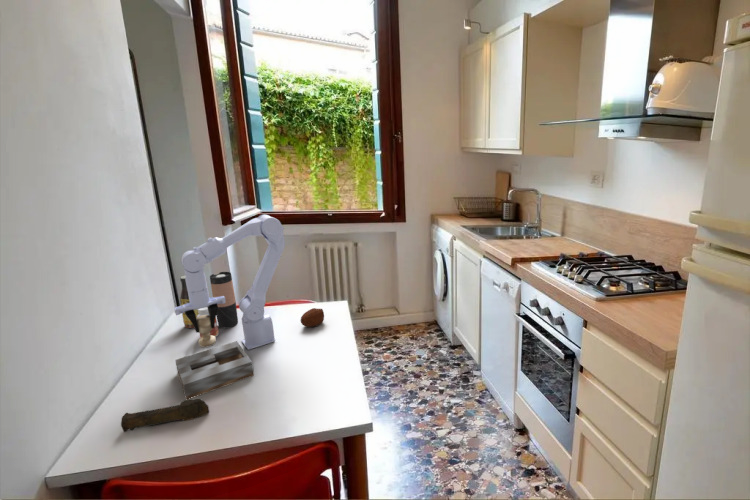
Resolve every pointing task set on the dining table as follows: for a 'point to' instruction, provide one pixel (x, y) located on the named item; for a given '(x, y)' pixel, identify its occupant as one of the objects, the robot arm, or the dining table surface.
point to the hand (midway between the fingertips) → (205, 329)
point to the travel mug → (227, 310)
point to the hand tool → (165, 414)
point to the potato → (312, 317)
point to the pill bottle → (214, 330)
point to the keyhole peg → (205, 331)
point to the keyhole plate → (213, 369)
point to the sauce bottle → (184, 300)
